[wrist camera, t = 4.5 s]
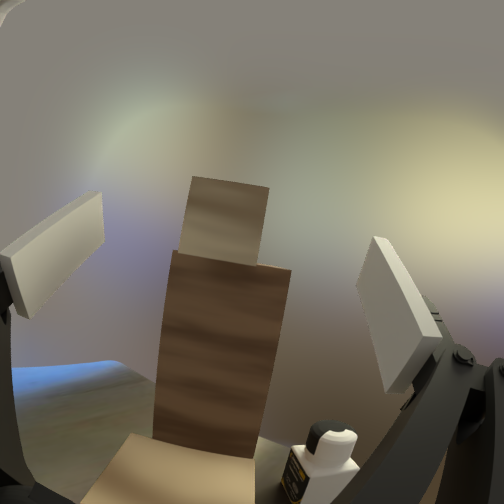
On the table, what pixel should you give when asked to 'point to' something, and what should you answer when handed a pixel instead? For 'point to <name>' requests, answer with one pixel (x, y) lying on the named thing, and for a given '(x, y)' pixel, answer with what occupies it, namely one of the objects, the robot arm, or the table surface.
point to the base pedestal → (172, 476)
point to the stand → (217, 353)
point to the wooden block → (223, 220)
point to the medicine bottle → (321, 464)
